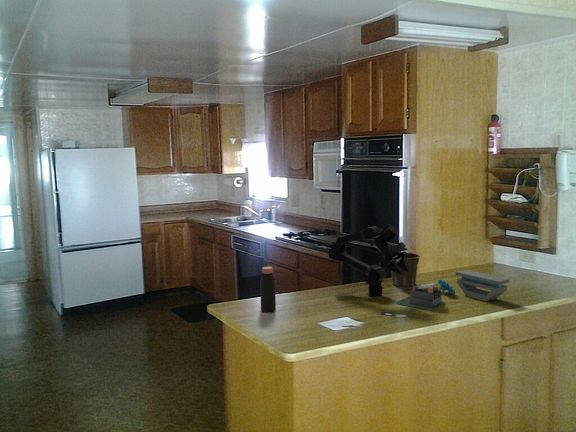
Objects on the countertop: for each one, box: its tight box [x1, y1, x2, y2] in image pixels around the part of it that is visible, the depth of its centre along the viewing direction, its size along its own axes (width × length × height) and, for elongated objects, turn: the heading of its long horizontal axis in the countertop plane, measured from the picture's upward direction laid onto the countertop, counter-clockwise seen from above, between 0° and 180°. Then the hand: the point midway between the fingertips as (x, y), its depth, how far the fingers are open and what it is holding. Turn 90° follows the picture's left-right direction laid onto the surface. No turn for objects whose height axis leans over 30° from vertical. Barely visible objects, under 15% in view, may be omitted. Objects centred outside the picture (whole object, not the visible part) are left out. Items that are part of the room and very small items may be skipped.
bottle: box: [259, 266, 277, 313], centre depth 243 cm, size 7×7×20 cm
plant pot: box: [390, 252, 421, 288], centre depth 287 cm, size 16×16×16 cm
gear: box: [437, 278, 456, 296], centre depth 268 cm, size 11×6×10 cm
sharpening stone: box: [454, 269, 510, 302], centre depth 260 cm, size 25×8×11 cm, turn 32°
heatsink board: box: [396, 283, 446, 311], centre depth 251 cm, size 18×14×9 cm
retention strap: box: [415, 283, 437, 289], centre depth 249 cm, size 10×3×1 cm, turn 50°
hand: (404, 272), depth 255 cm, fingers open, 6 cm apart
